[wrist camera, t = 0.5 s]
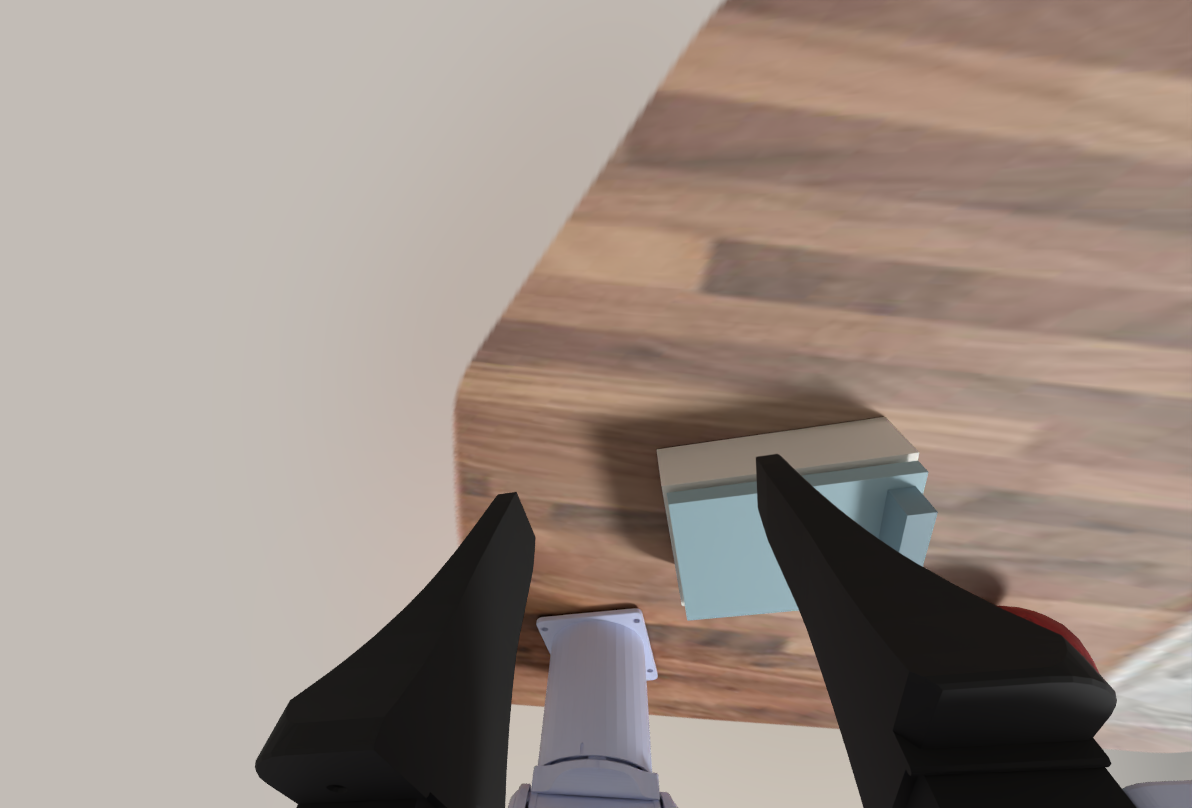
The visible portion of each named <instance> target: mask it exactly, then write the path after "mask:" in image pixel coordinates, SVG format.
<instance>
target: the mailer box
mask: <svg viewBox="0 0 1192 808" xmlns="http://www.w3.org/2000/svg"><path fill="white" fill-rule="evenodd" d="M656 450H657V457H658V465H659V472H660V479H661V486H662V492H663V498H664V504H665V510H666V516H667V521H668V527H669V533H670V539H671V545H672V551H673V556H674V562H675V568H676V574H677V580H678V586H679V592H680V597H681V603H682V606H685V602H684V596H683V590H682V584H681V578H680V572H679V566H678V560H677V554H676V548H675V542H674V536H673V530H672V524H671V518H670V511H669V505H668V499H667V493H670V492H678V491H685V490H693V489H701V488H709V487H716V486H724V485H732V484H740V483H747V482H755V481H757V478H756V457H758V456H765V455H772V454H779V455H780V456H782V457H783V458H784V459H785V460H786V461H787V462H788V463H789V464H790V465H791V466H792V467H793V468H794V469H795V470H796V471H797V472H798V473H799V474H800V475H801V476H802V475H809V474H817V473H825V472H833V471H840V470H848V469H856V468H864V467H871V466H879V465H887V464H895V463H902V462H910V461H918V456H919V452H918V450H917V449H916V448H915V447H914V446H913V445H912V444H911V443H910V442H909V441H908V440H907V439H906V438H905V437H904V436H903V435H902V434H901V433H900V432H899V431H898V430H897V428H896V427H895V426H894V425H893V424H892V423H891V422H890V421H889V420H888V419H887V418H886V417H880V418H873V419H866V420H859V421H852V422H845V423H838V424H831V425H824V426H817V427H810V428H803V429H796V430H789V431H782V432H775V433H768V434H761V435H754V436H747V437H740V438H733V439H726V440H719V441H712V442H705V443H698V444H691V445H684V446H677V447H670V448H663V449H656Z"/></svg>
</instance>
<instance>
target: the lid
mask: <svg viewBox="0 0 1192 808" xmlns="http://www.w3.org/2000/svg"><path fill="white" fill-rule="evenodd" d="M927 476H928V471H927V470H926V469H925V468H924V467H923V466H922V464H921V463H920V462H919V461H910V462H902V463H895V464H887V465H879V466H871V467H864V468H856V469H848V470H840V471H833V472H825V473H817V474H809V475H802V477H803V478H804V479H805V480H806V481H808V482H809V483H810V484H811V485H812V486H813V487H814V488H815V489H816V490H817V491H819V492H820V493H821V494H822V495H823V496H824V497H826V498H827V499H828V500H829V501H830V502H831V503H833V504H834V505H835V506H836V507H837V508H839V509H840V510H841V511H842V512H844V513H845V514H846V515H847V516H849V517H850V518H851V519H853V520H854V521H855V522H856V523H858V524H859V525H860V526H862V527H863V528H864V529H866V530H867V531H869V532H870V533H871V534H873V535H874V536H876V537H877V538H878V539H880V540H881V541H883V542H884V543H886V544H887V545H889V546H890V547H892V548H893V549H895V550H896V551H898V552H899V553H901V554H902V555H904V556H906V557H907V558H909V559H910V560H912V561H914V562H915V563H917V564H919V565H921V566H922V567H923V564H924V560H925V556H926V553H927V549H928V546H929V542H930V538H931V535H932V531H933V528H934V524H935V520H936V517H937V513H938V512H937V511H936V510H935V508H934V507H933V506H932V505H931V504H930V502H929V501H928V500H927V499H926V498H925V497H924V495H923V492H924V488H925V484H926V480H927ZM667 499H668V505H669V511H670V518H671V524H672V530H673V536H674V542H675V548H676V554H677V560H678V566H679V572H680V578H681V584H682V590H683V596H684V602H685V608H686V615H687V620H698V619H709V618H720V617H731V616H743V615H754V614H765V613H776V612H787V611H798V610H799V609H798V607H797V605H796V602H795V600H794V598H793V596H792V593H791V591H790V589H789V587H788V585H787V582H786V580H785V578H784V576H783V573H782V571H781V569H780V567H779V565H778V562H777V560H776V558H775V556H774V553H773V551H772V549H771V547H770V544H769V542H768V539H767V536H766V533H765V530H764V527H763V524H762V521H761V517H760V514H759V511H758V504H757V481H755V482H747V483H740V484H732V485H724V486H716V487H709V488H701V489H693V490H685V491H678V492H670V493H667Z"/></svg>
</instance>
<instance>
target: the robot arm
mask: <svg viewBox="0 0 1192 808" xmlns="http://www.w3.org/2000/svg"><path fill="white" fill-rule="evenodd" d="M756 478H757V504H758V511H759V514H760V517H761V521H762V524H763V527H764V530H765V533H766V536H767V539H768V542H769V544H770V547H771V549H772V551H773V553H774V556H775V558H776V560H777V562H778V565H779V567H780V569H781V571H782V573H783V576H784V578H785V580H786V582H787V585H788V587H789V589H790V591H791V593H792V596H793V598H794V600H795V602H796V605H797V607H798V609H799V611H800V613H801V616H802V618H803V621H804V623H805V626H806V628H807V631H808V634H809V637H810V640H811V643H812V646H813V649H814V652H815V654H816V657H817V660H818V663H819V666H820V669H821V672H822V675H823V678H824V681H825V684H826V687H827V690H828V694H829V697H830V700H831V703H832V706H833V709H834V712H835V715H836V718H837V722H838V725H839V728H840V731H841V734H842V737H843V741H844V744H845V747H846V750H847V753H848V757H849V760H850V764H851V767H852V770H853V773H854V777H855V780H856V784H857V787H858V790H859V794H860V797H861V800H862V804H863V807H864V808H1192V780H1187V781H1164V782H1163V781H1162V782H1145V783H1138V784H1134V785H1130V786H1127V787H1125V788H1123V789H1122V788H1121V787H1120V786H1119V785H1118V783H1117V782H1116V781H1115V780H1114V778H1113V777H1112V776H1111V774H1110V773H1109V772H1108V771H1107V769H1106V768H1105V767H1109V766H1110V765H1111V762H1110V759H1109V757H1108V756H1107V755H1106V753H1105V752H1104V751H1103V750H1102V748H1101V747H1100V746H1099V745H1098V743H1097V742H1096V741H1095V740H1094V738H1093V737H1094V736H1095V734H1096V733H1097V732H1098V731H1099V729H1100V728H1101V727H1102V726H1103V724H1104V723H1105V722H1106V721H1107V719H1108V718H1109V717H1110V716H1111V714H1112V712H1113V710H1114V708H1115V706H1116V702H1117V699H1116V693H1115V691H1114V690H1113V689H1112V687H1111V686H1110V685H1109V684H1108V683H1107V682H1106V681H1105V680H1104V679H1103V677H1102V676H1101V675H1100V674H1099V673H1098V672H1097V671H1096V669H1095V668H1094V667H1093V666H1092V665H1091V664H1090V663H1089V662H1088V661H1087V660H1086V658H1085V657H1084V656H1083V655H1082V654H1081V653H1080V652H1078V651H1077V650H1076V649H1075V648H1074V647H1073V646H1072V645H1071V644H1070V643H1069V642H1068V641H1067V640H1066V639H1065V638H1064V637H1063V636H1062V635H1060V634H1058V633H1056V632H1053V631H1051V630H1049V629H1047V628H1044V627H1042V626H1040V625H1038V624H1035V623H1033V622H1031V621H1029V620H1026V619H1024V618H1022V617H1020V616H1017V615H1015V614H1013V613H1011V612H1008V611H1006V610H1004V609H1002V608H1000V607H998V606H996V605H993V604H991V603H989V602H987V601H985V600H983V599H981V598H979V597H978V596H976V595H974V594H972V593H970V592H968V591H966V590H964V589H962V588H960V587H958V586H956V585H954V584H952V583H950V582H949V581H947V580H945V579H943V578H942V577H940V576H938V575H936V574H935V573H933V572H931V571H929V570H928V569H926V568H924V567H922V566H921V565H919V564H917V563H915V562H914V561H912V560H910V559H909V558H907V557H906V556H904V555H902V554H901V553H899V552H898V551H896V550H895V549H893V548H892V547H890V546H889V545H887V544H886V543H884V542H883V541H881V540H880V539H878V538H877V537H876V536H874V535H873V534H871V533H870V532H869V531H867V530H866V529H864V528H863V527H862V526H860V525H859V524H858V523H856V522H855V521H854V520H853V519H851V518H850V517H849V516H847V515H846V514H845V513H844V512H842V511H841V510H840V509H839V508H837V507H836V506H835V505H834V504H833V503H831V502H830V501H829V500H828V499H827V498H826V497H824V496H823V495H822V494H821V493H820V492H819V491H817V490H816V489H815V488H814V487H813V486H812V485H811V484H810V483H809V482H808V481H806V480H805V479H804V478H803V477H802V476H801V475H800V474H799V473H798V472H797V471H796V470H795V469H794V468H793V467H792V466H791V465H790V464H789V463H788V462H787V461H786V460H785V459H784V458H783V457H782V456H780V455H779V454H772V455H765V456H758V457H756ZM534 552H535V535H534V533H533V530H532V528H531V525H530V523H529V521H528V518H527V516H526V513H525V511H524V509H523V506H522V504H521V502H520V499H519V497H518V494H517V492H512V493H505V494H499V495H497V496H496V498H495V499H494V500H493V502H492V503H491V504H490V506H489V507H488V509H487V510H486V511H485V513H484V514H483V515H482V517H481V518H480V519H479V521H478V522H477V524H476V525H475V526H474V528H473V529H472V530H471V532H470V533H469V534H468V536H467V537H466V538H465V540H464V541H463V542H462V544H461V545H460V546H459V548H458V549H457V550H456V551H455V553H454V554H453V555H452V556H451V557H450V559H449V560H448V561H447V562H446V563H445V565H444V566H443V567H442V568H441V570H440V571H439V572H438V573H437V574H436V575H435V577H434V578H433V579H432V580H431V581H430V582H429V583H428V584H427V586H426V587H425V588H424V589H423V590H422V591H421V592H420V593H419V594H418V595H417V596H416V597H415V598H414V599H413V600H412V601H411V602H410V603H409V604H408V605H407V606H406V607H405V608H404V609H403V610H402V611H401V612H400V613H399V614H398V615H397V616H396V617H395V618H394V619H392V620H391V621H390V622H389V623H388V624H387V625H386V626H385V627H384V628H383V629H382V630H380V631H379V632H378V633H377V634H376V635H375V636H374V637H373V638H372V639H370V640H369V641H368V642H367V643H366V644H364V645H363V646H362V647H361V648H360V649H359V650H357V651H356V652H355V653H353V654H352V655H351V656H350V657H348V658H347V659H346V660H345V661H343V662H342V663H341V664H339V665H338V666H337V667H336V668H334V669H333V670H332V671H330V672H329V673H328V674H326V675H325V676H323V677H322V678H321V679H319V680H318V681H316V682H315V683H314V684H312V685H311V686H310V687H308V688H307V689H305V690H304V691H303V692H301V693H300V694H298V695H297V696H296V697H294V698H293V699H291V700H290V702H289V703H288V705H287V707H286V708H285V710H284V712H283V714H282V716H281V717H280V719H279V721H278V723H277V724H276V726H275V728H274V730H273V731H272V733H271V735H270V737H269V738H268V740H267V742H266V744H265V746H264V747H263V749H262V751H261V753H260V754H259V756H258V758H257V760H256V763H255V768H256V772H257V773H258V775H259V777H260V778H261V779H262V780H263V781H265V782H266V783H267V784H268V785H270V786H272V787H273V788H274V789H276V790H277V791H279V792H281V793H282V794H284V795H285V796H287V797H288V798H290V799H291V800H293V801H294V802H296V803H297V804H298V805H297V808H505V795H506V770H507V754H508V738H509V723H510V711H511V700H512V689H513V679H514V670H515V661H516V653H517V647H518V641H519V636H520V631H521V626H522V621H523V617H524V612H525V607H526V602H527V597H528V592H529V587H530V582H531V577H532V572H533V564H534ZM536 625H537V628H538V630H539V632H540V634H541V636H542V638H543V640H544V642H545V644H546V647H547V649H548V651H549V653H550V655H551V657H550V666H549V674H548V683H547V691H546V700H545V710H544V717H543V727H542V734H541V743H540V752H539V760H538V766H535V767H534V772H533V780H532V788H531V785H530V784H521V786H520V787H519V790H517V791H516V792H515V793H514V795H513V796H512V797H511V799H510V802H509V806H508V808H678V807H677V805H676V804H675V803H674V801H673V800H672V798H671V796H670V794H669V793H667V792H659V779H658V774H657V773H652V762H651V748H650V732H649V731H650V730H649V714H648V698H647V682H646V680H655V679H656V678H657V677H658V675H657V669H656V665H655V661H654V657H653V654H652V650H651V646H650V642H649V638H648V634H647V630H646V626H645V622H644V618H643V614H642V611H641V610H640V609H637V608H632V609H621V610H611V611H600V612H590V613H579V614H569V615H558V616H548V617H540V618H538V619H537V623H536Z"/></svg>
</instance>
